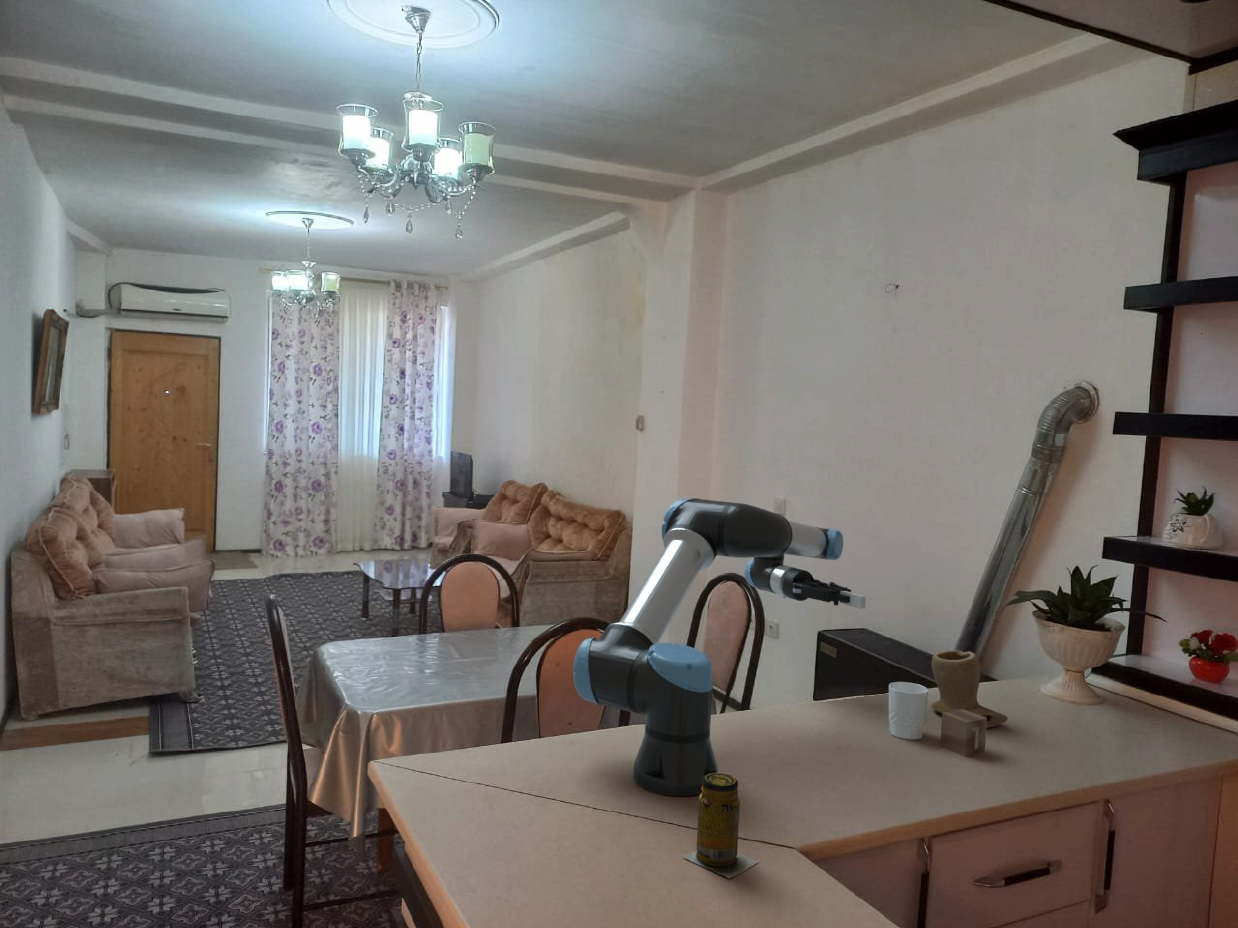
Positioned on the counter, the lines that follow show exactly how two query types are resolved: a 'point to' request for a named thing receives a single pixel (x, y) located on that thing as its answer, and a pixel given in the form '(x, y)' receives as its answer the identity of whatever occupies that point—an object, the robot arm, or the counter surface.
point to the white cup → (907, 709)
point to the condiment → (719, 827)
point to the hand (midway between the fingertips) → (863, 602)
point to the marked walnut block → (963, 732)
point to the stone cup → (960, 685)
